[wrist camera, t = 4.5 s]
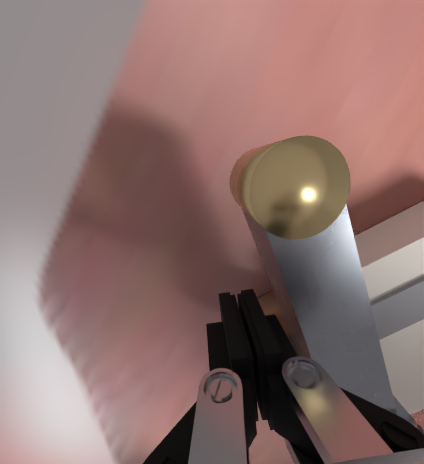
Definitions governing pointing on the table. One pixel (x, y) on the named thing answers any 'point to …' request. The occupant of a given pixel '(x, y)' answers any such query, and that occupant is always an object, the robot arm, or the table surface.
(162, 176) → the table surface
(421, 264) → the door panel
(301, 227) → the latch bar
